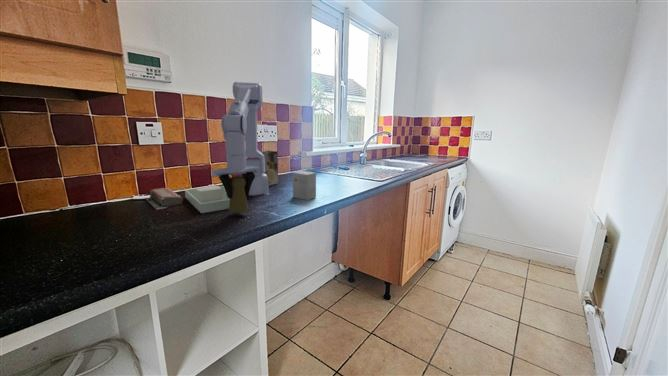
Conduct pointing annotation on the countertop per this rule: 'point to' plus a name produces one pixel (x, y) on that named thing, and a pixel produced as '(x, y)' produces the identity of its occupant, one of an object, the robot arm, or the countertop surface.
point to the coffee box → (271, 166)
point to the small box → (304, 185)
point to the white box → (209, 193)
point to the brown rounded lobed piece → (238, 195)
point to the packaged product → (163, 198)
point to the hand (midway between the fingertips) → (238, 196)
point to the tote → (208, 202)
